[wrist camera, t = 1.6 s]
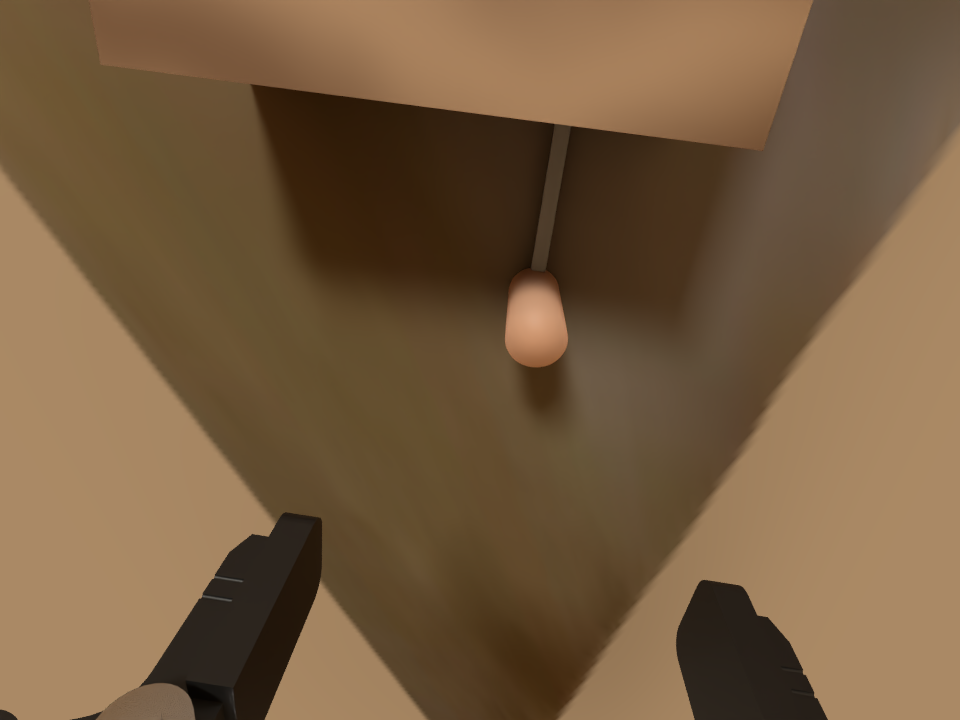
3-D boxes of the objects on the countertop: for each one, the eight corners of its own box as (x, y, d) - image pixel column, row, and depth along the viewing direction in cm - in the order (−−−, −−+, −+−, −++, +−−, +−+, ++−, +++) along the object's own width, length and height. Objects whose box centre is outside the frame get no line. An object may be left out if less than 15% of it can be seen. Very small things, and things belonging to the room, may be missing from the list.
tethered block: (541, -136, 20) (548, -221, 15) (668, -120, 20) (722, -200, 15) (484, 309, 28) (475, 359, 23) (575, 321, 28) (587, 374, 23)
